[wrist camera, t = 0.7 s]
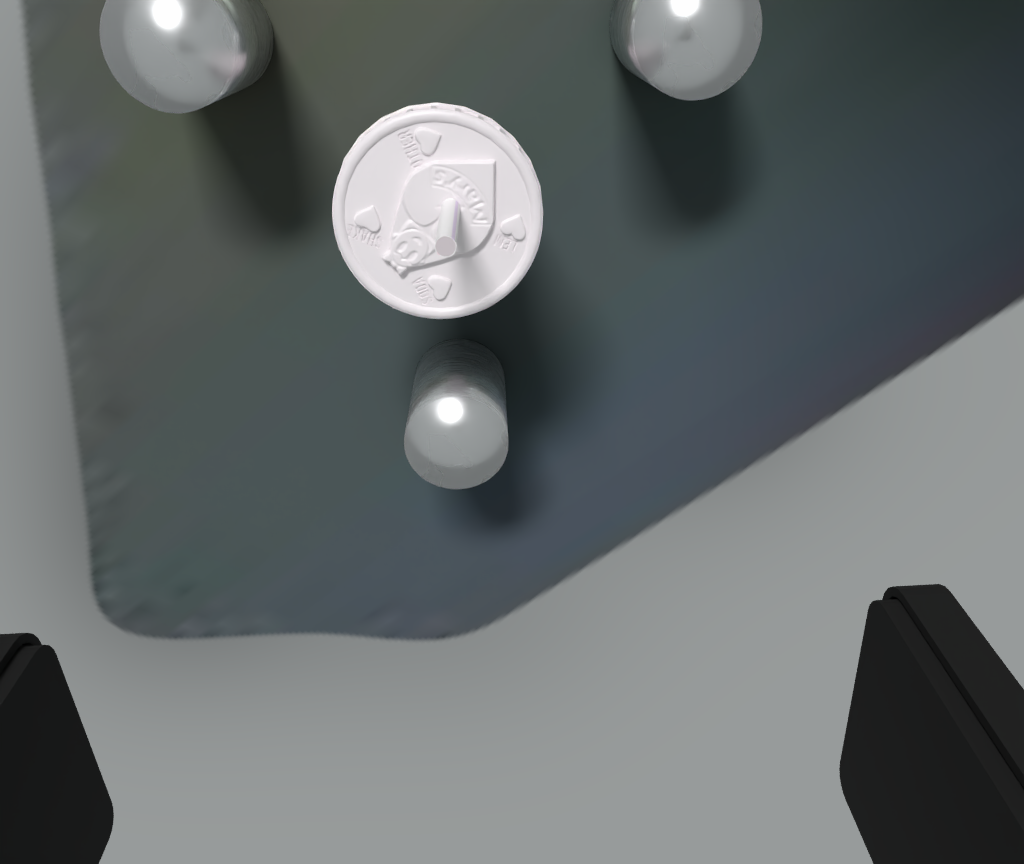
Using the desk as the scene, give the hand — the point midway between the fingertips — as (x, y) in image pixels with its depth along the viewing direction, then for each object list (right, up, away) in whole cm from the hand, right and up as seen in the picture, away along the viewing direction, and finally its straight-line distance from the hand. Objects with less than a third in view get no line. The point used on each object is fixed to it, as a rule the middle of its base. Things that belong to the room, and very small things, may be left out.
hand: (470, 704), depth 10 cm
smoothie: (-2, +14, +25) cm, 28 cm away
